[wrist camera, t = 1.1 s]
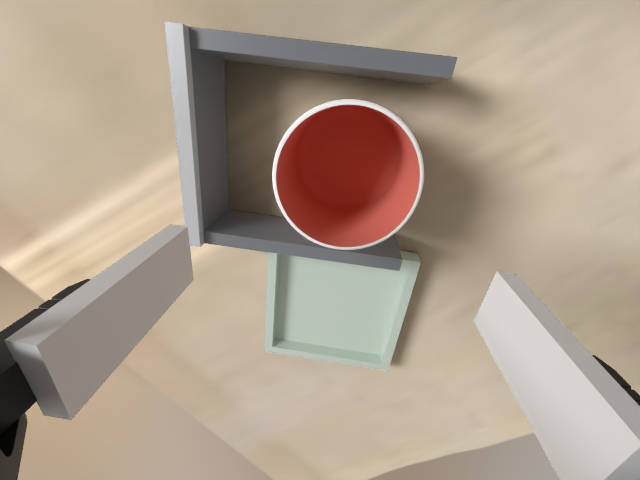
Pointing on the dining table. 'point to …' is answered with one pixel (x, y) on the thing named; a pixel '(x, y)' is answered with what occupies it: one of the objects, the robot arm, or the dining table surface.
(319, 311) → the tray
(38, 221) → the dining table surface
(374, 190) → the cup
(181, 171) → the bay
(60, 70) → the dining table surface
